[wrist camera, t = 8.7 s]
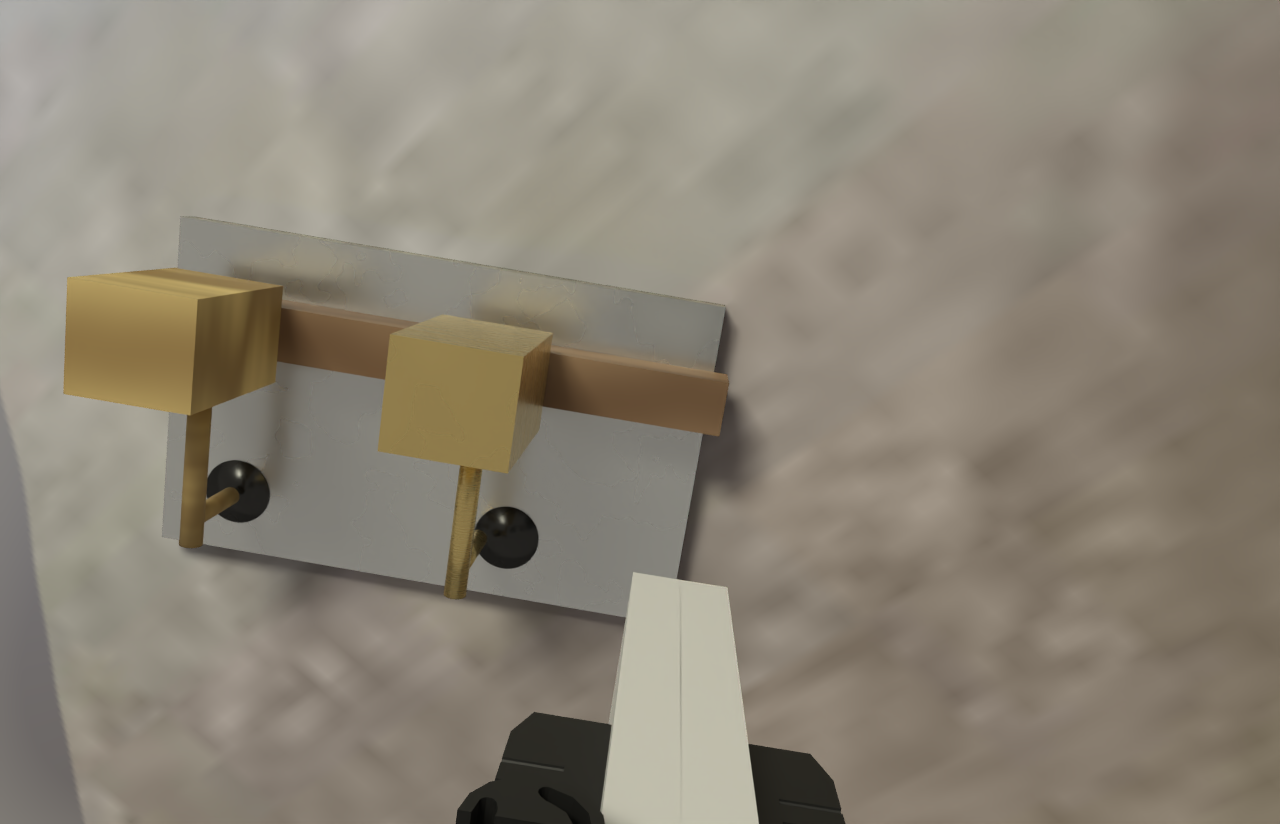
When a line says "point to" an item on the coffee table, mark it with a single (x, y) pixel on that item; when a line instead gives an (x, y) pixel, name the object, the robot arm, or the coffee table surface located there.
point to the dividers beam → (301, 361)
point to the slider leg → (464, 410)
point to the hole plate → (426, 490)
